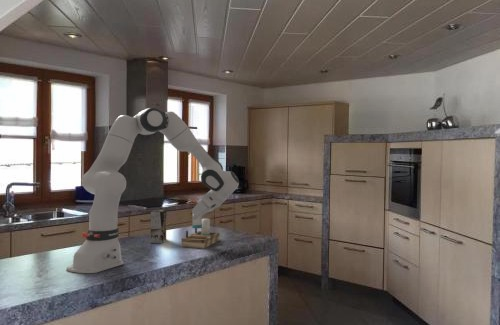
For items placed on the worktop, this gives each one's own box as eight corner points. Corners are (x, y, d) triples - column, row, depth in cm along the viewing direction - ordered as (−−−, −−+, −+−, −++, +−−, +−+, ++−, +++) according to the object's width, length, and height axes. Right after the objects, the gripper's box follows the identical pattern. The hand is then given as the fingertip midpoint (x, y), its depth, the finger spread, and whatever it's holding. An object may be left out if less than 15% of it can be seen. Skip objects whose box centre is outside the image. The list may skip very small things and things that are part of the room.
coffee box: (162, 243, 203) (162, 211, 203) (150, 243, 203) (150, 211, 203) (166, 239, 212) (166, 209, 212) (154, 239, 212) (154, 209, 212)
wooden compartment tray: (203, 248, 192) (203, 234, 192) (181, 246, 196) (181, 232, 196) (219, 240, 211) (219, 227, 211) (198, 238, 215) (198, 225, 215)
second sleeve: (207, 237, 206) (207, 220, 205) (199, 237, 207) (199, 219, 207) (211, 235, 210) (211, 218, 210) (203, 235, 212) (203, 218, 211)
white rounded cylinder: (199, 228, 196) (199, 210, 195) (190, 228, 197) (190, 210, 197) (203, 226, 200) (203, 209, 200) (194, 226, 202) (194, 208, 201)
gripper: (217, 192, 206) (200, 210, 209) (201, 196, 186) (182, 216, 190) (225, 201, 205) (208, 219, 208) (210, 206, 185) (191, 225, 188)
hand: (196, 217), depth 199 cm, fingers closed on white rounded cylinder, 5 cm apart
